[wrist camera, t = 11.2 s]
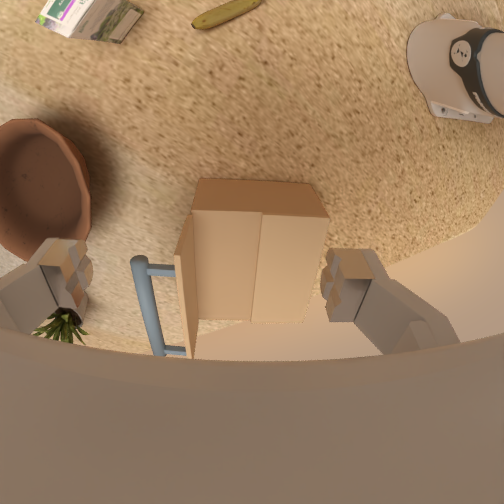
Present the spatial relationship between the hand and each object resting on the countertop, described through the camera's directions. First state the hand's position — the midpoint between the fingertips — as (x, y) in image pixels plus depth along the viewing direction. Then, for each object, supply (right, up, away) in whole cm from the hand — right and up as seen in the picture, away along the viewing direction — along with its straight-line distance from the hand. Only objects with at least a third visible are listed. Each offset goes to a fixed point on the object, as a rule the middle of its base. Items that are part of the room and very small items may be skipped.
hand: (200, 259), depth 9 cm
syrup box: (-16, +31, +17) cm, 38 cm away
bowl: (-29, +13, +28) cm, 42 cm away
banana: (-1, +30, +18) cm, 35 cm away
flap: (-5, -5, +24) cm, 25 cm away
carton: (+1, +3, +37) cm, 37 cm away
